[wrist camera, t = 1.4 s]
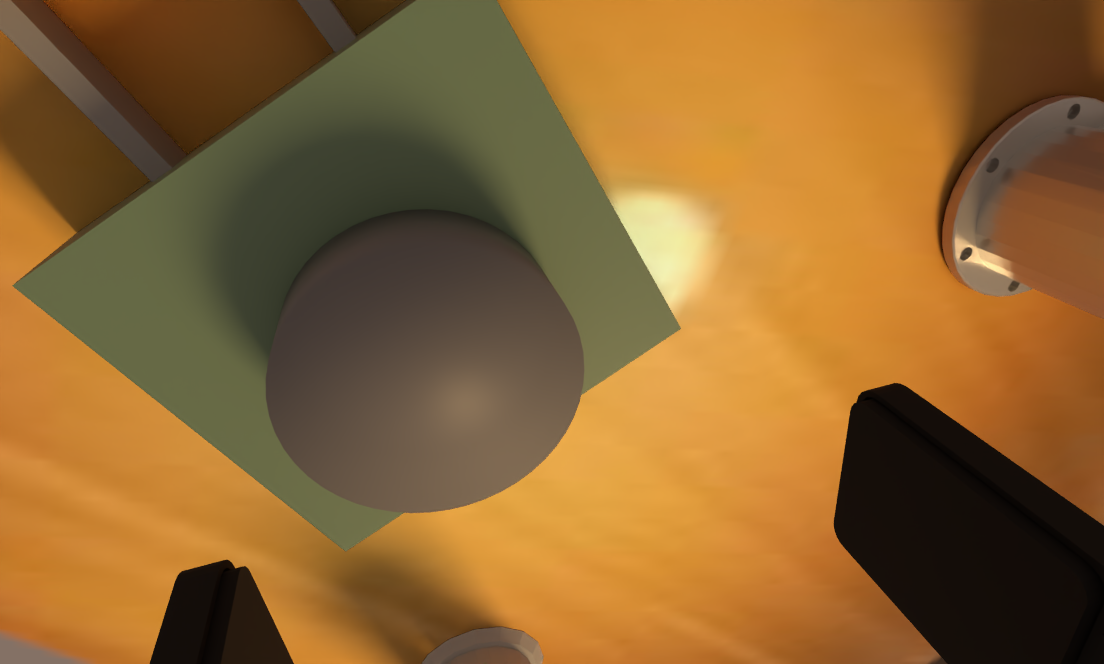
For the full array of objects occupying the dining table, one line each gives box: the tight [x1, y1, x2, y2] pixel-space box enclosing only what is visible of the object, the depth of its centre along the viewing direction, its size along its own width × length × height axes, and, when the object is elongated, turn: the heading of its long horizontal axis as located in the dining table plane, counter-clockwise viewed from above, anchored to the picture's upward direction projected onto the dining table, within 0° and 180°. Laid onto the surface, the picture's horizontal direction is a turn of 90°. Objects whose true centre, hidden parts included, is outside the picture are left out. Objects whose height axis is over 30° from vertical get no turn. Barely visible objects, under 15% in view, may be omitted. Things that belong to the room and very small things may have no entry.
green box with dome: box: [0, 0, 681, 551], centre depth 26 cm, size 20×27×10 cm
